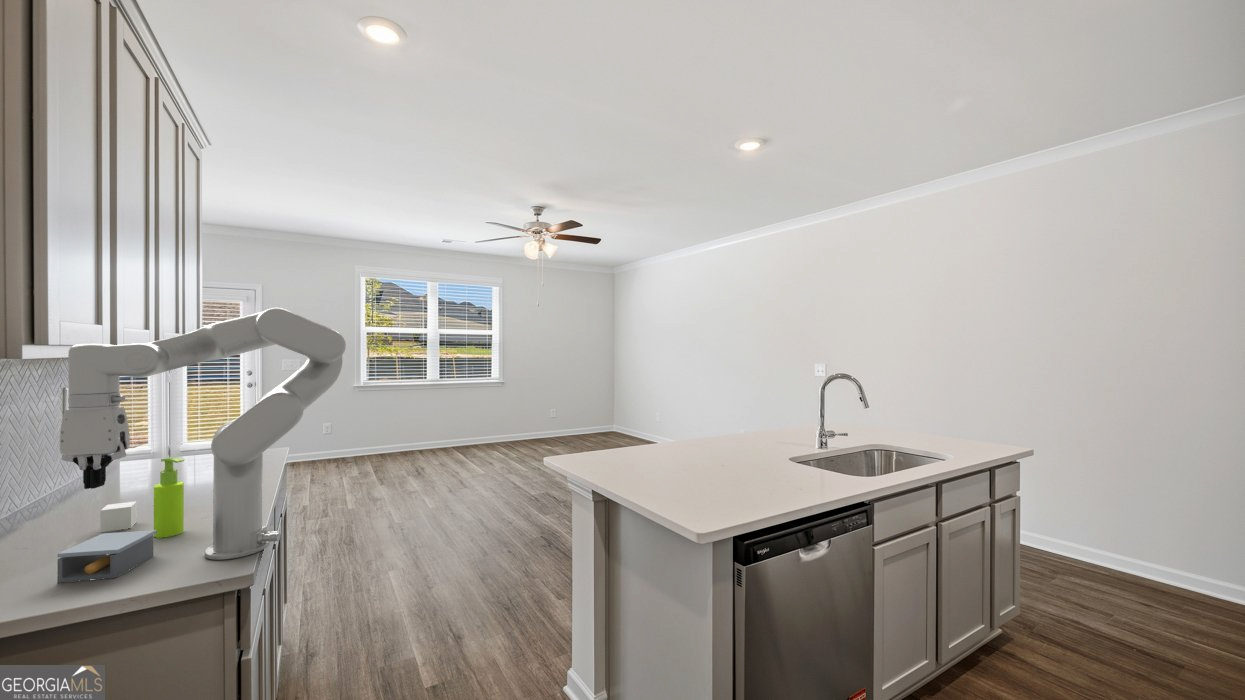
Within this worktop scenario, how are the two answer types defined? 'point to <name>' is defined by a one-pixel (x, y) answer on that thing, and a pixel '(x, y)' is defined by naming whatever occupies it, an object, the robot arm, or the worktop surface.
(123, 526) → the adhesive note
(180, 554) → the worktop surface
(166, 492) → the soap dispenser
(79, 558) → the cable duct
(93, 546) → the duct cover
